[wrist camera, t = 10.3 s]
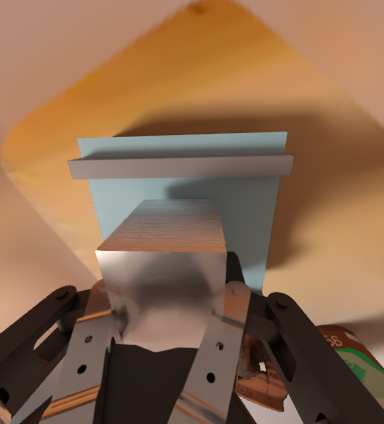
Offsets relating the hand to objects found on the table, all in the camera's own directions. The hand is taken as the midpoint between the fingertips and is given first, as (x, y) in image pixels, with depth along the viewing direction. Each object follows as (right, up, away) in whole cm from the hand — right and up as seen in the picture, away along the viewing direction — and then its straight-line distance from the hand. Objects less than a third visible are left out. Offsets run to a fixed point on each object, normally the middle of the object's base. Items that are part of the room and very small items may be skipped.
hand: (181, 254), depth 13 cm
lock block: (0, 0, +1) cm, 1 cm away
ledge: (0, +3, +7) cm, 7 cm away
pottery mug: (+10, -16, +14) cm, 23 cm away
